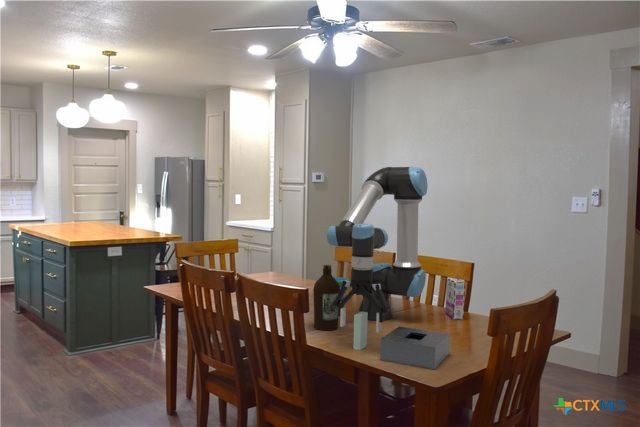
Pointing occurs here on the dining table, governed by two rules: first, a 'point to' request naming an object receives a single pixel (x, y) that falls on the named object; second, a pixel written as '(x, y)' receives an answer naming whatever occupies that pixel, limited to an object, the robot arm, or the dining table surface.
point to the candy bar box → (455, 298)
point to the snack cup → (341, 284)
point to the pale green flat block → (360, 330)
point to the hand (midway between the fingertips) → (360, 328)
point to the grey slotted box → (415, 347)
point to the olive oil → (326, 301)
